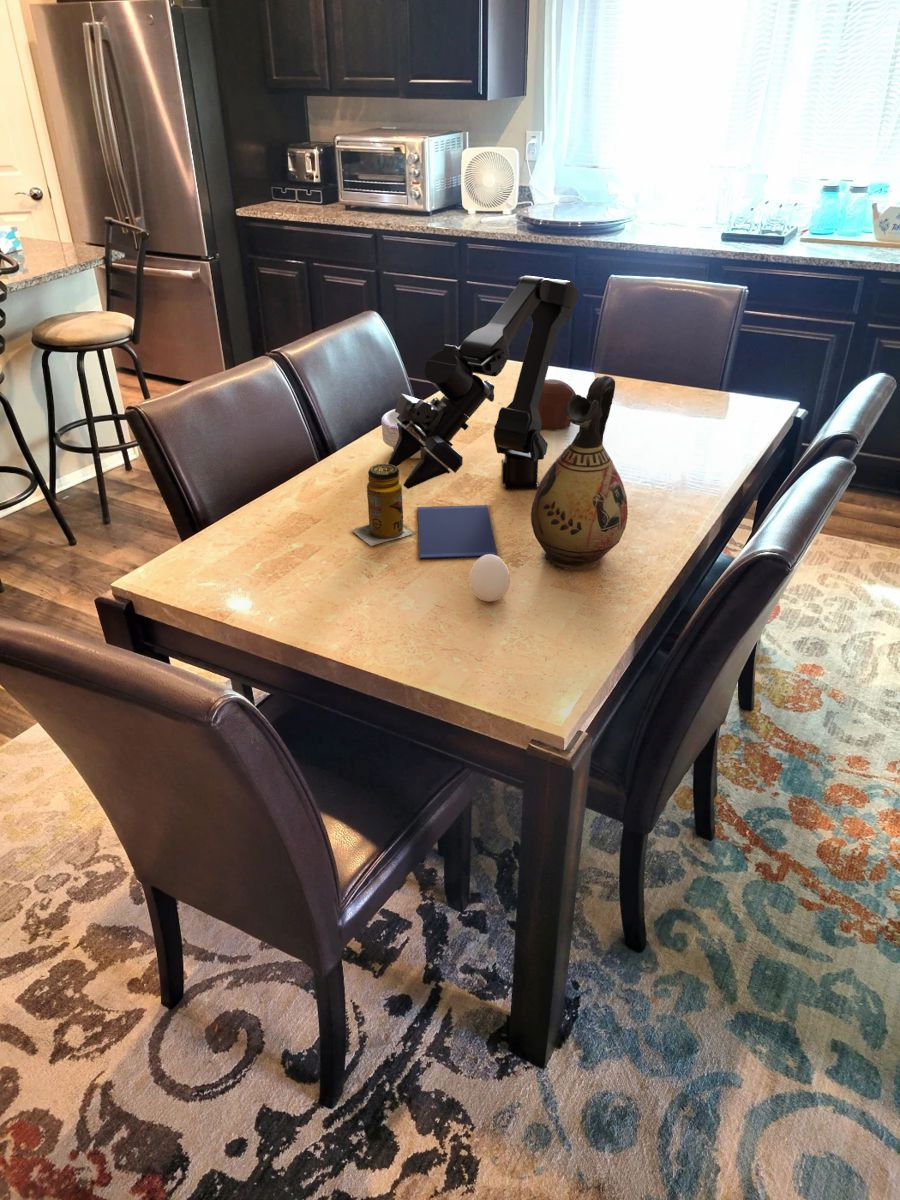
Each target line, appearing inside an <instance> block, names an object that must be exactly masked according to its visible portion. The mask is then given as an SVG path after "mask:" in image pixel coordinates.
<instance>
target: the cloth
mask: <svg viewBox="0 0 900 1200" xmlns="http://www.w3.org/2000/svg"><path fill="white" fill-rule="evenodd" d="M417 516H418V517H417V518H418V519H417V521H418V522H417V523H418V548H419V549H418V550H419V560H420V561H424V560H425V561H427V560H453V559H479V558H480V557H482V556H484V555H487V554H493V555H496V556H498V551H497V547H496V541H495V536H494V532H493V526H492V522H491V517H490V511H489V507H488V505H487V504H479V505H449V506H447V505H445V506H444V505H443V506H418V507H417Z"/></svg>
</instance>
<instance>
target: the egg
mask: <svg viewBox="0 0 900 1200" xmlns="http://www.w3.org/2000/svg"><path fill="white" fill-rule="evenodd" d="M510 577H511V576H510V571H509V568H508V566H507V565H506V563H505V561H504V560H503V559H502V557H499V556H498V555H497V556H496V555H493V554H487V555H484V556H482V557H480V558H477V560H476V561H475V562H474V563H473V565H472V568H471V570H470V574H469V585H470V588H471V591H472V592H473V594H474V595H475V597H477V598H478V599H479V600H481V601H483V602H496V601H498V600H500V599H502V598H503V596H505V594H506V593H507V592H508V589H509V587H510V580H511V579H510Z"/></svg>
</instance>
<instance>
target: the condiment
mask: <svg viewBox="0 0 900 1200" xmlns="http://www.w3.org/2000/svg"><path fill="white" fill-rule="evenodd" d="M367 474H368V477H367V481H368V482H367V484H366V495H367V509H368V511H367V512H368V524H366V525H363V526H360V527H355V528H352V529H351V531H352V532H353V533H354V534H355V535H357V537H358V538H360V539H361V540H362V541H364V543H366V544H368V545H369V546H370V547H372V546H375V545H379V544H383V543H385V542H389V541H394V540H397V539H401V538H405V537H406V536H407V537H408V536H411V535H413V532H412V531H411V530H409V529H407V528H406V527H404V509H403V508H404V505H403V486H402V481H401V480H400V479H401V478H400V470H399V468H398V466H397V467H396V466H395V465H391V464H388V463H379V464H374V465H372V466H371V467H369V469H368V471H367Z"/></svg>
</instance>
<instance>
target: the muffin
mask: <svg viewBox="0 0 900 1200" xmlns="http://www.w3.org/2000/svg"><path fill="white" fill-rule="evenodd" d="M573 395H577V393H576V391H575V390H574V389H573V387H572V386H570V384H569V383H566V382H565V381H563V380H560V379H552V378H550V379H545V382H544V385H543V389H542V393H541V397H540V400H539V404H538V412H539V415H540V419H541V422H542V426H541V431H553V432H556V431H559V430H560V431H561V430H566V429H567V428H568V427H570V426H571V422H569V421H568V419H567V417H566V414H565V407H566V404H567V403H568V401H569V399H570V398H571V397H572V396H573Z"/></svg>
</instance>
